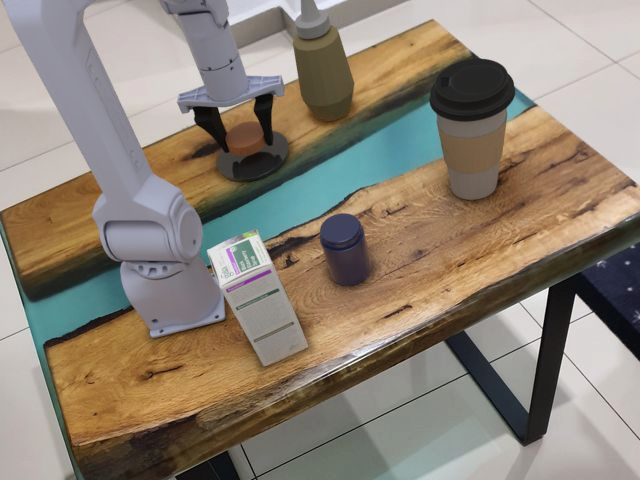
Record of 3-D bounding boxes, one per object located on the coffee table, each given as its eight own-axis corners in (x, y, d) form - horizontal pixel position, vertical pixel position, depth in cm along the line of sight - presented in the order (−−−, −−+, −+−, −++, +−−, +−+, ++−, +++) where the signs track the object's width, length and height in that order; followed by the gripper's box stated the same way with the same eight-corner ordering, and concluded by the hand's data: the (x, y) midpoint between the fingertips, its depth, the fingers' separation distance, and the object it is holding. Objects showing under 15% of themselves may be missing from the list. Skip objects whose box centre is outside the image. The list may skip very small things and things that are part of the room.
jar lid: (270, 127, 95) (267, 118, 94) (266, 153, 91) (263, 144, 90) (231, 132, 96) (228, 124, 95) (225, 158, 93) (222, 150, 91)
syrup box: (310, 348, 73) (275, 261, 62) (262, 369, 73) (218, 286, 61) (294, 313, 77) (258, 225, 65) (248, 334, 76) (203, 248, 65)
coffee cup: (425, 177, 86) (413, 75, 74) (489, 150, 86) (488, 44, 74) (458, 220, 80) (451, 117, 68) (527, 191, 81) (532, 83, 69)
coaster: (220, 190, 93) (218, 187, 92) (216, 144, 99) (215, 141, 99) (294, 170, 92) (293, 167, 92) (285, 125, 99) (284, 122, 98)
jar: (334, 291, 78) (321, 249, 72) (326, 260, 81) (313, 218, 75) (376, 279, 77) (366, 236, 71) (367, 249, 80) (357, 206, 75)
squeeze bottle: (298, 109, 101) (265, -9, 86) (344, 87, 101) (320, -32, 87) (319, 134, 96) (288, 15, 81) (367, 112, 97) (345, -11, 82)
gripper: (273, 30, 84) (299, 119, 95) (169, 51, 87) (205, 135, 98) (269, 61, 80) (296, 150, 91) (160, 81, 83) (199, 166, 94)
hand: (249, 145), depth 94 cm, fingers closed on jar lid, 6 cm apart
